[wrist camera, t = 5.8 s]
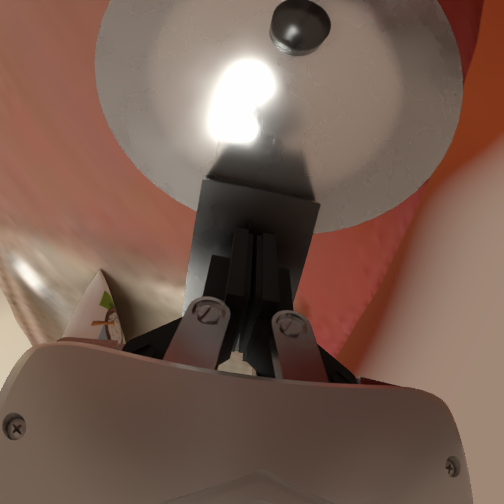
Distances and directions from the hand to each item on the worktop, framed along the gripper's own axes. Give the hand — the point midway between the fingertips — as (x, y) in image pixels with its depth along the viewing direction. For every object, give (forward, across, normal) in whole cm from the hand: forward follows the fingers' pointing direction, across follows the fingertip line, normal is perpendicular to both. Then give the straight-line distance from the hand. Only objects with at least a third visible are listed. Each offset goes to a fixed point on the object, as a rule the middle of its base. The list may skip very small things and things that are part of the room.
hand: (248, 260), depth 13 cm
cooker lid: (+4, 0, -7) cm, 8 cm away
